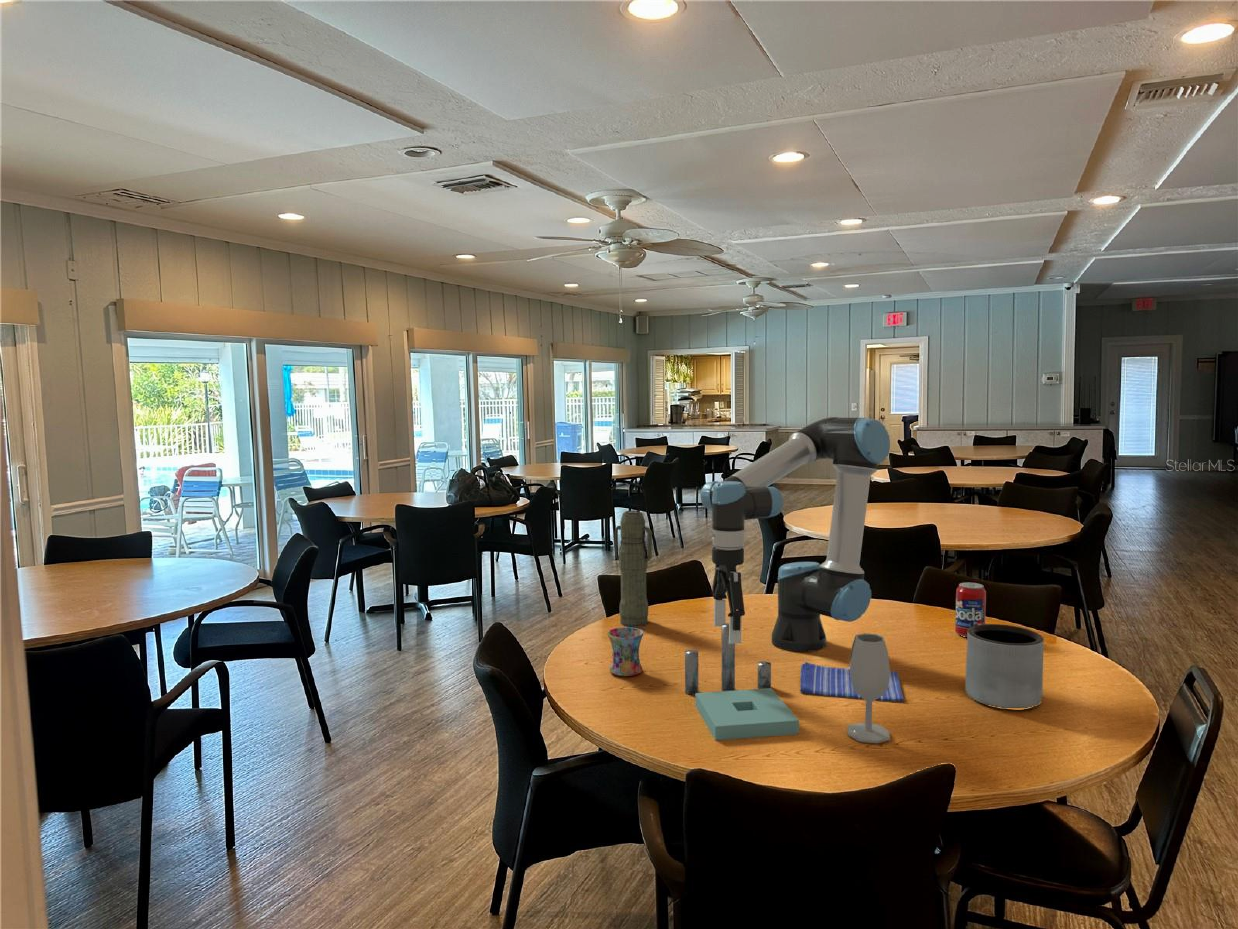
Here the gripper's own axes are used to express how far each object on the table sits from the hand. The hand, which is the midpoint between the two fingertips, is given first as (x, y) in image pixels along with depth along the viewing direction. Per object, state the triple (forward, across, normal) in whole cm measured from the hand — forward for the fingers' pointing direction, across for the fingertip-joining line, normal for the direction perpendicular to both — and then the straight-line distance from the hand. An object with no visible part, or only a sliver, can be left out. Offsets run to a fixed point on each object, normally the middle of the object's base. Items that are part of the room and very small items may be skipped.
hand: (727, 634), depth 188 cm
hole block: (+14, +17, 0) cm, 22 cm away
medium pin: (+14, 0, -8) cm, 16 cm away
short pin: (+14, 0, +10) cm, 17 cm away
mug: (+14, -17, -22) cm, 31 cm away
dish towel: (+14, +2, +30) cm, 34 cm away
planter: (+13, +16, +62) cm, 65 cm away
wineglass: (+14, +29, +22) cm, 39 cm away
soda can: (+13, -28, +80) cm, 86 cm away
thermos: (+14, -58, -14) cm, 61 cm away
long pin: (+14, 0, 0) cm, 14 cm away
